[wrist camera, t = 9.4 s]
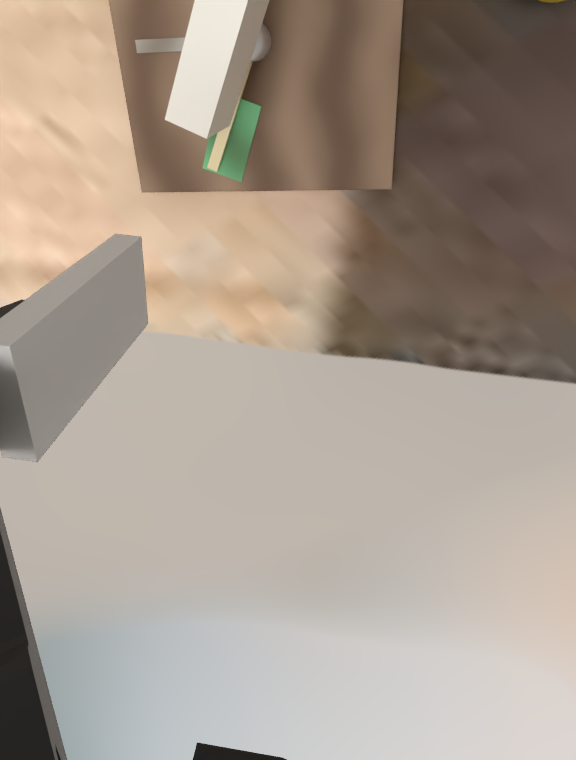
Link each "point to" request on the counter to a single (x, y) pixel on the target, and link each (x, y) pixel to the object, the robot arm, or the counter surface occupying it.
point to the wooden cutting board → (271, 98)
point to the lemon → (551, 0)
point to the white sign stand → (217, 67)
